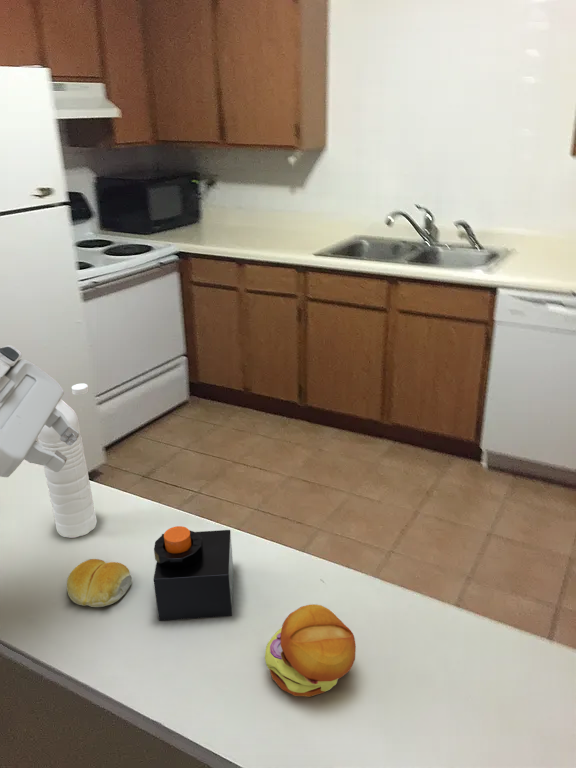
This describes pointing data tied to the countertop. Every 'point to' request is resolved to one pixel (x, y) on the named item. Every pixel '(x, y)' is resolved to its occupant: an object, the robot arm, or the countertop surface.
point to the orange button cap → (177, 539)
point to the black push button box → (195, 577)
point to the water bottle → (69, 477)
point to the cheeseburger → (310, 651)
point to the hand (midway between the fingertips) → (69, 452)
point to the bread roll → (98, 583)
